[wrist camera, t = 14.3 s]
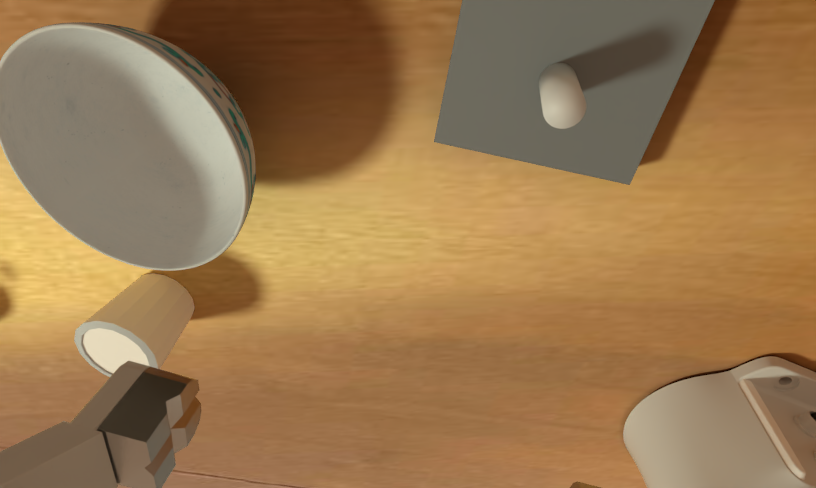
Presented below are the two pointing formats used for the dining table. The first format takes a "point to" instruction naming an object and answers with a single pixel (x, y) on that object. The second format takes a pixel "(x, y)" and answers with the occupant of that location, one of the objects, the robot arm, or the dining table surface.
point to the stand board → (606, 71)
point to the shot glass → (136, 325)
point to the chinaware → (127, 143)
